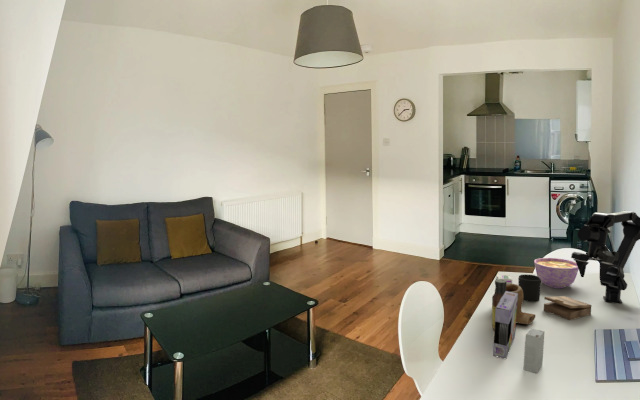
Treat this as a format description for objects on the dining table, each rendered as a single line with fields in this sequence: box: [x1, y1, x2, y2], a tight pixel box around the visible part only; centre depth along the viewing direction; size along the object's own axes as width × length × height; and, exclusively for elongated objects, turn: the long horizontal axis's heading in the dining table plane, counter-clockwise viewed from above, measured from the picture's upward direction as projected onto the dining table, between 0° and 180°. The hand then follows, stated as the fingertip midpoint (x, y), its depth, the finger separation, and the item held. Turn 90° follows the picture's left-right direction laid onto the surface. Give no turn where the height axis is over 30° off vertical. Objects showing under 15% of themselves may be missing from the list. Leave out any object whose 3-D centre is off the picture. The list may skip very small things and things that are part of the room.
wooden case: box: [543, 301, 592, 321], centre depth 187 cm, size 13×12×3 cm
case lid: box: [544, 295, 592, 308], centre depth 187 cm, size 13×12×2 cm
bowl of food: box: [533, 257, 579, 289], centre depth 221 cm, size 20×20×12 cm
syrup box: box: [495, 274, 513, 284], centre depth 191 cm, size 6×6×14 cm
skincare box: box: [523, 328, 545, 374], centre depth 141 cm, size 6×4×12 cm
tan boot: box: [506, 283, 536, 325], centre depth 178 cm, size 15×12×15 cm
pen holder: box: [517, 274, 542, 303], centre depth 204 cm, size 9×9×10 cm
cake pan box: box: [492, 291, 518, 359], centre depth 155 cm, size 19×5×18 cm, turn 148°
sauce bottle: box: [491, 279, 507, 332], centre depth 169 cm, size 6×6×20 cm
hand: (591, 278), depth 192 cm, fingers open, 9 cm apart
